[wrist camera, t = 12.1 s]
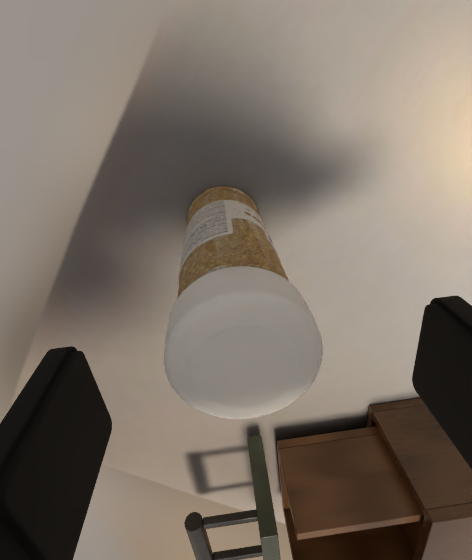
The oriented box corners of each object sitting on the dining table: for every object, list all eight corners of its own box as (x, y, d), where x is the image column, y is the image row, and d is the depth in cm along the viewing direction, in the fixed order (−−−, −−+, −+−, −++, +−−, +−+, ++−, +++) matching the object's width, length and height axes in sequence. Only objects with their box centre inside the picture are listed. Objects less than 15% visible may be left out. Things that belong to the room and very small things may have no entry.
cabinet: (360, 487, 36) (408, 605, 28) (368, 404, 30) (432, 522, 22) (493, 467, 36) (581, 578, 28) (527, 381, 30) (652, 488, 22)
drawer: (203, 517, 35) (202, 620, 28) (182, 446, 29) (175, 551, 22) (386, 489, 35) (431, 584, 28) (399, 413, 30) (457, 507, 23)
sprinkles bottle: (271, 231, 22) (351, 384, 10) (211, 265, 23) (218, 446, 11) (235, 168, 20) (281, 265, 8) (171, 208, 21) (125, 352, 9)
